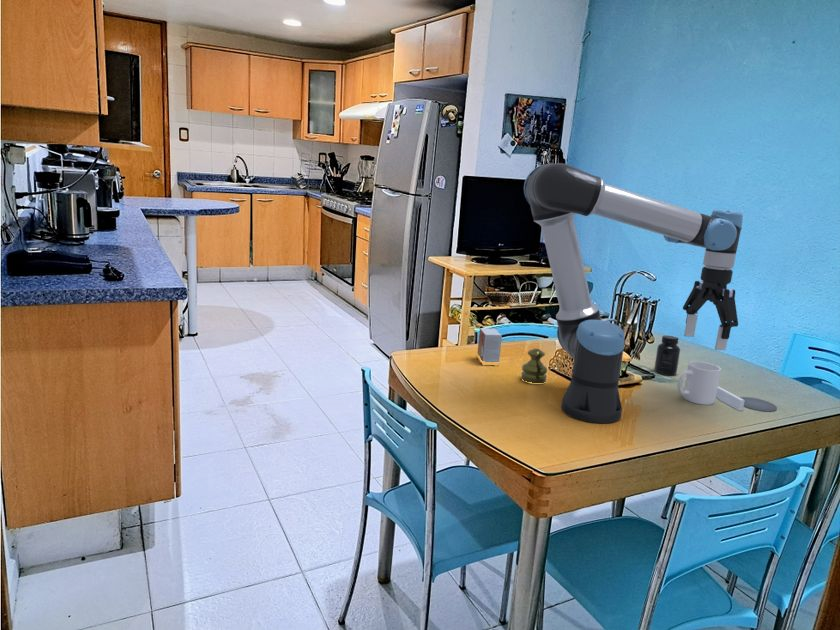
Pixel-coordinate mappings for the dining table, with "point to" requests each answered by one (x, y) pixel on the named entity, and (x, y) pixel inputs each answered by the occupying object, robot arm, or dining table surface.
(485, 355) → the small box
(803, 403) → the dining table surface
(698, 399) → the cup
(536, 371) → the olive green tiered piece
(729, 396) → the acrylic wall
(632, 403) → the dining table surface
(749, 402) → the coaster
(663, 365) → the supplement bottle
